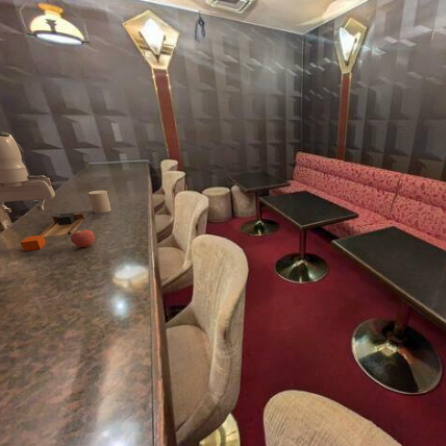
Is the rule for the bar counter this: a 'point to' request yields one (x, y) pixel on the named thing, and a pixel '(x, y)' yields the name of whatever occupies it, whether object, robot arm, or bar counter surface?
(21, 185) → the robot arm
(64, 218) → the black block
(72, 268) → the bar counter surface
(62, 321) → the bar counter surface
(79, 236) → the apple
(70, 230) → the jig
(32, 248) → the orange block
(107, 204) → the cup
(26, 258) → the bar counter surface
